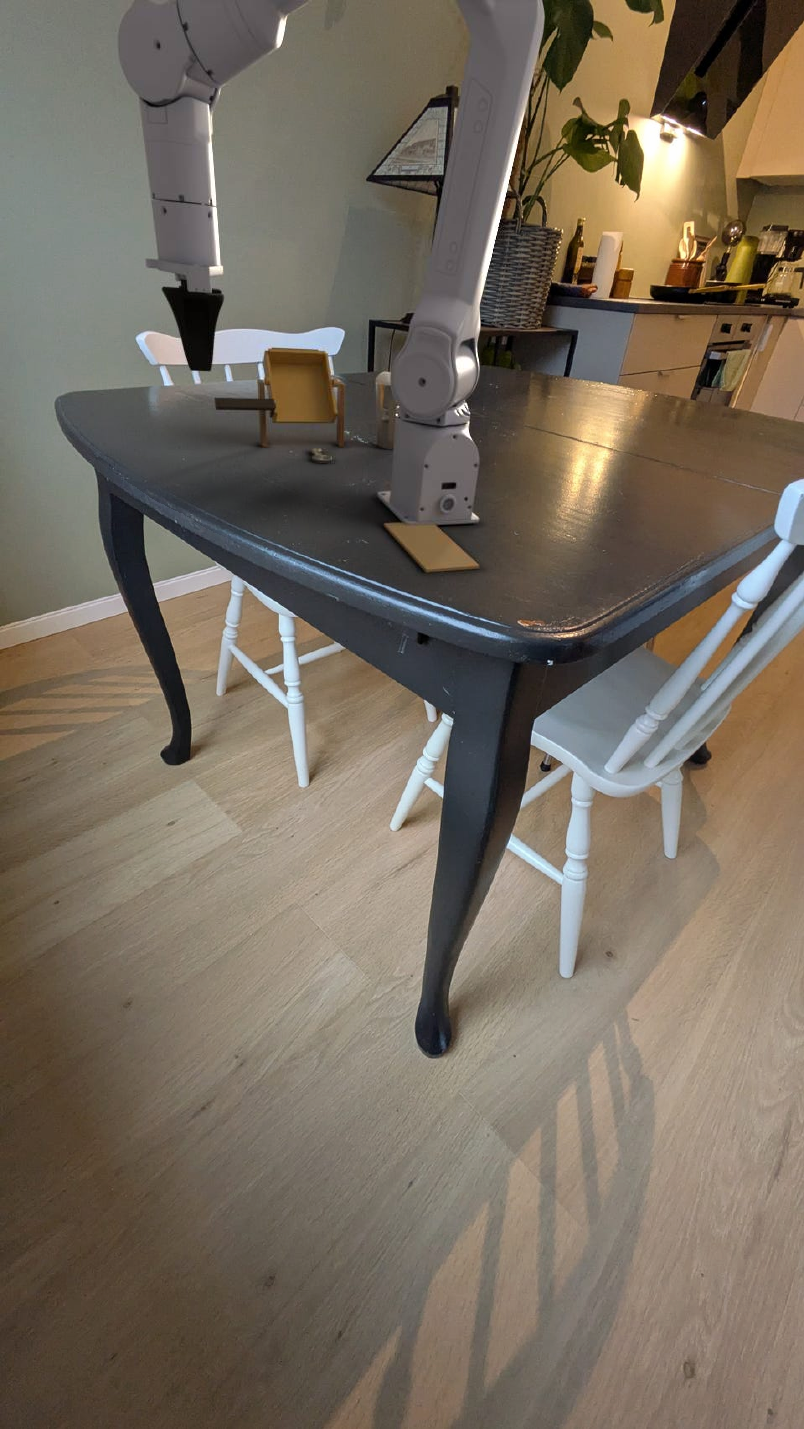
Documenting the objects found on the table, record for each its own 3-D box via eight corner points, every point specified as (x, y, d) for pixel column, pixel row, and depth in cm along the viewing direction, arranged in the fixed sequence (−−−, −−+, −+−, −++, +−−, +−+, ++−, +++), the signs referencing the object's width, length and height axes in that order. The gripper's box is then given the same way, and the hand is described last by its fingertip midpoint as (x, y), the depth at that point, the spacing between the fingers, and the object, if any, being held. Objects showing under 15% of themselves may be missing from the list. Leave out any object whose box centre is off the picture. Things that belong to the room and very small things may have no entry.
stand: (343, 446, 84) (345, 384, 80) (262, 447, 81) (259, 382, 76) (340, 443, 85) (341, 381, 81) (260, 443, 82) (257, 379, 78)
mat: (478, 568, 55) (479, 565, 55) (426, 572, 53) (426, 569, 53) (430, 523, 63) (431, 520, 63) (383, 526, 61) (383, 523, 61)
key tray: (338, 423, 82) (343, 410, 79) (215, 422, 77) (216, 409, 74) (327, 359, 83) (332, 344, 80) (204, 354, 78) (205, 338, 75)
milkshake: (407, 442, 89) (414, 362, 83) (403, 452, 84) (410, 368, 78) (375, 439, 89) (379, 358, 83) (370, 448, 85) (374, 364, 79)
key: (321, 448, 81) (321, 451, 81) (303, 448, 80) (303, 452, 80) (334, 459, 77) (333, 463, 77) (315, 460, 76) (315, 463, 77)
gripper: (135, 200, 62) (155, 357, 70) (141, 196, 51) (164, 382, 59) (209, 208, 64) (220, 359, 72) (229, 206, 54) (240, 384, 62)
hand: (200, 370), depth 66 cm, fingers closed
